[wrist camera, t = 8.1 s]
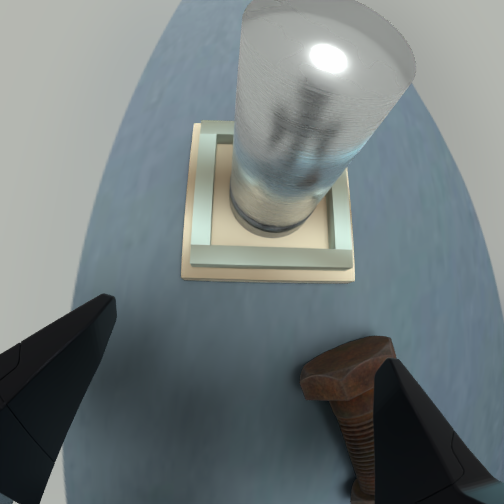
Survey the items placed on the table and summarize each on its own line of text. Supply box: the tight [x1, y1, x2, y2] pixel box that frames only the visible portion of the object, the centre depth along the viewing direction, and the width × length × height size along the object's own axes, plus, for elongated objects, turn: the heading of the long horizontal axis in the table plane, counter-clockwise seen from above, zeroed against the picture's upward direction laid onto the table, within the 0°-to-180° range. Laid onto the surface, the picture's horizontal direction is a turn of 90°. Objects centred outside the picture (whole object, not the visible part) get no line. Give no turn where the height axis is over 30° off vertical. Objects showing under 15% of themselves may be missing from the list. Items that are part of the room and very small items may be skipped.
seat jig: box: [181, 120, 355, 283], centre depth 19 cm, size 10×10×2 cm
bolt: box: [300, 336, 396, 504], centre depth 15 cm, size 6×5×15 cm
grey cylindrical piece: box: [229, 0, 416, 238], centre depth 13 cm, size 5×5×12 cm
